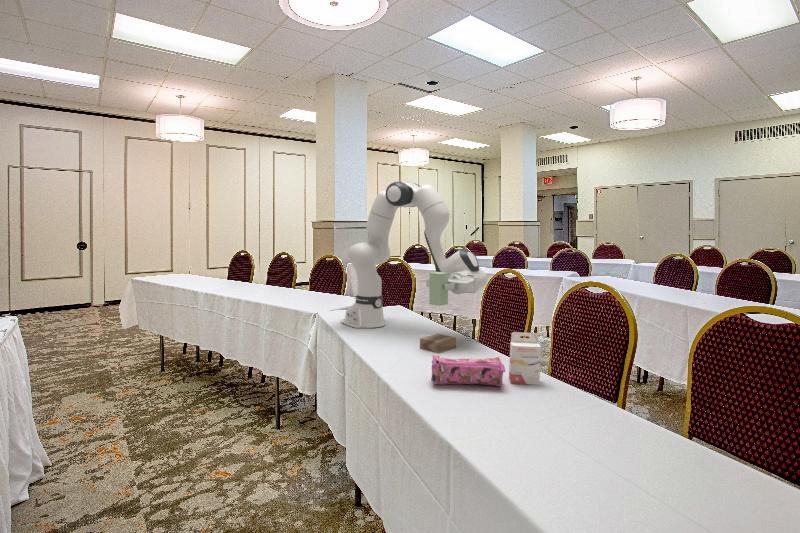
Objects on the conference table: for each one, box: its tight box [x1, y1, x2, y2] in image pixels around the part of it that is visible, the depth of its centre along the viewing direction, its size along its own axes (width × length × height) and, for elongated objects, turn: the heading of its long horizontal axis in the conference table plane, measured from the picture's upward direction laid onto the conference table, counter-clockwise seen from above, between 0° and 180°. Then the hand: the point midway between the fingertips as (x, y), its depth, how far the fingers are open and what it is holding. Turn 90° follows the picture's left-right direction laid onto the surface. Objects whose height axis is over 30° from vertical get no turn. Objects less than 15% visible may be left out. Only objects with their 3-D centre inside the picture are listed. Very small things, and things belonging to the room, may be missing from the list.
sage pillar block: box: [428, 271, 449, 307], centre depth 179 cm, size 5×5×12 cm
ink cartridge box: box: [508, 331, 542, 386], centre depth 143 cm, size 9×5×15 cm, turn 84°
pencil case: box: [430, 354, 506, 387], centre depth 140 cm, size 21×9×9 cm, turn 83°
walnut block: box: [419, 333, 457, 354], centre depth 181 cm, size 9×11×4 cm
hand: (437, 286), depth 179 cm, fingers closed on sage pillar block, 5 cm apart
